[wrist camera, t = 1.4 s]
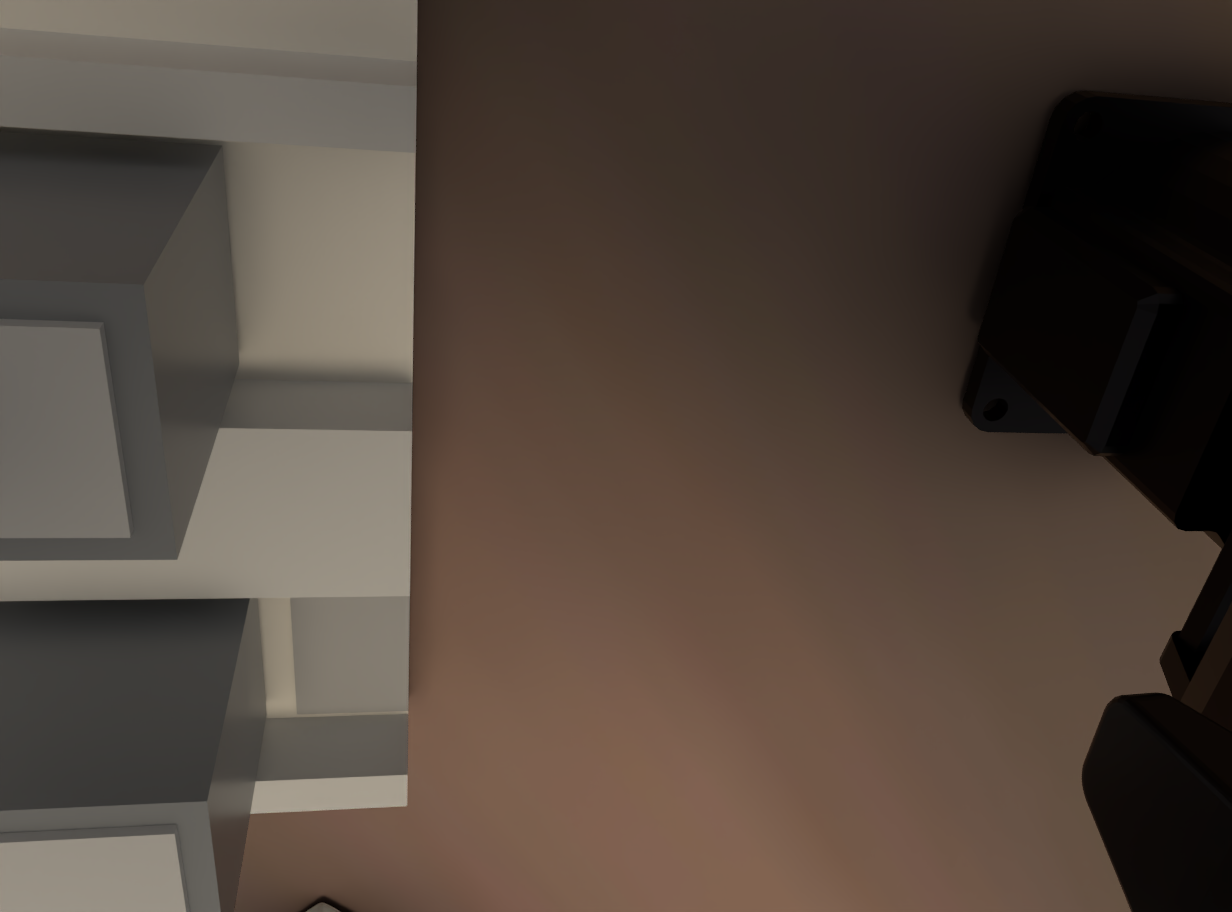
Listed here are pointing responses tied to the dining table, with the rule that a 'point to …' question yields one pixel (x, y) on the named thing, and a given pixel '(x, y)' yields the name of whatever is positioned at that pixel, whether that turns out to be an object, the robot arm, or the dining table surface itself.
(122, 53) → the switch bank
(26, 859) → the switch tab
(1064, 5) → the dining table surface
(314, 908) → the supplement box
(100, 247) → the switch tab
